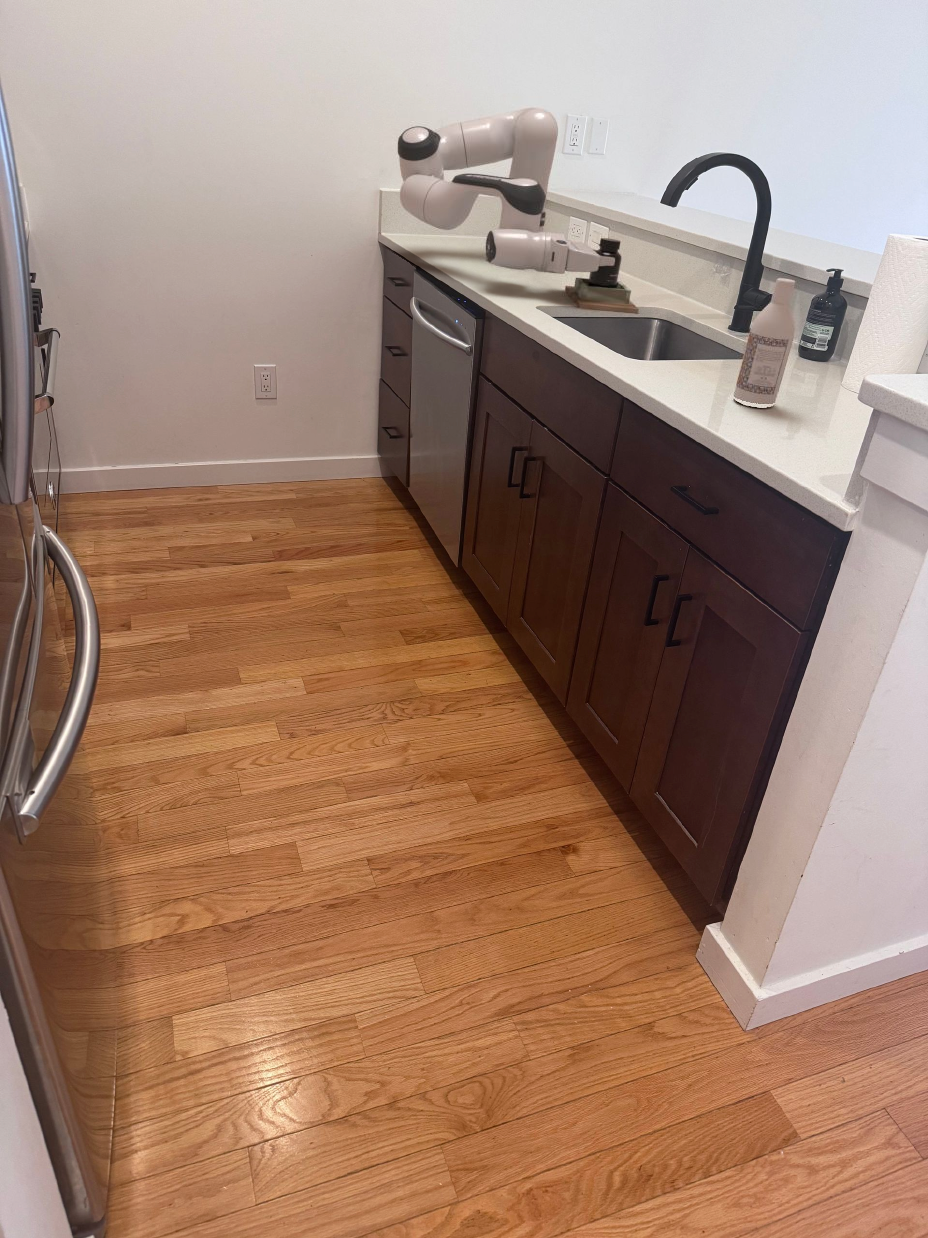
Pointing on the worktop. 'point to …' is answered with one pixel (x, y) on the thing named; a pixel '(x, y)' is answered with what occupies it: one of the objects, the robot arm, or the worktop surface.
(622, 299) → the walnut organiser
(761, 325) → the bath foam
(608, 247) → the supplement bottle
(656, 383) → the worktop surface
